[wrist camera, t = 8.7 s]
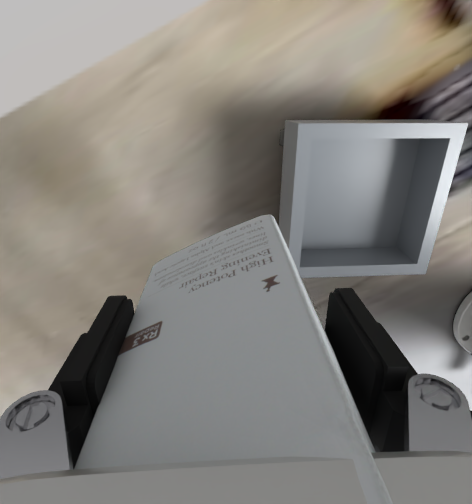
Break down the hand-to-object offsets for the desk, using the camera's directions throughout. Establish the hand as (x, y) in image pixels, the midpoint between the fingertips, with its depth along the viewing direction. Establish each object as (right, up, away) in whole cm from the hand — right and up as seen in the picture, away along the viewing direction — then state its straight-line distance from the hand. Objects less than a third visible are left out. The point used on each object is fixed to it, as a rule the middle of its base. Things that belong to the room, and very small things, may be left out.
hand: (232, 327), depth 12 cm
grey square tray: (+10, +9, +20) cm, 24 cm away
